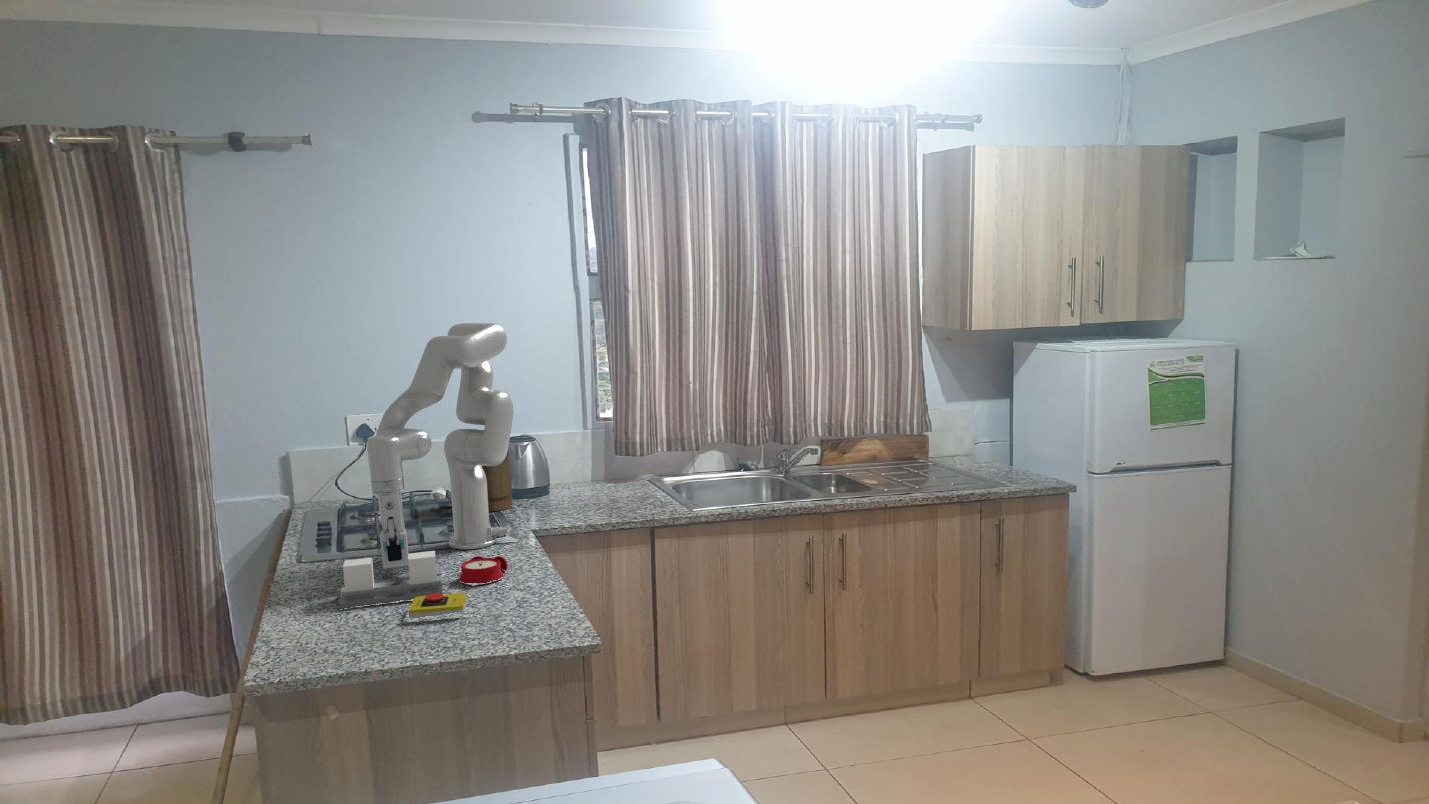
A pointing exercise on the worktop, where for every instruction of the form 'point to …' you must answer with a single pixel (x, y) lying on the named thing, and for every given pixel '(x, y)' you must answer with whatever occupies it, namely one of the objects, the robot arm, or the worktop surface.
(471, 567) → the alarm clock
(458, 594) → the emergency button
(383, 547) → the block
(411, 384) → the robot arm
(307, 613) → the worktop surface
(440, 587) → the board
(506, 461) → the wooden container
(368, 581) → the mounted modules
